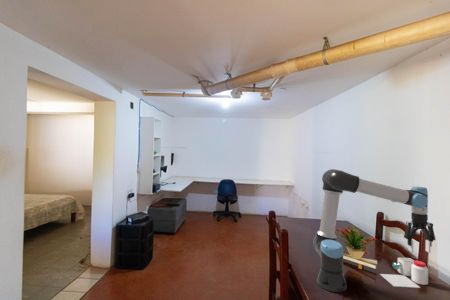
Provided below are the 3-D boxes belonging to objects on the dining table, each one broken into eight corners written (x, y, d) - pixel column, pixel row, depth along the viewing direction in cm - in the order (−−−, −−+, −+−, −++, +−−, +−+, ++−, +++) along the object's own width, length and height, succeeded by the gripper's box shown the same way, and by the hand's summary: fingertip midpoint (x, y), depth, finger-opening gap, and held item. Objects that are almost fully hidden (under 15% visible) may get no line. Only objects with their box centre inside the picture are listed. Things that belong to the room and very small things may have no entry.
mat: (394, 286, 136) (394, 286, 136) (380, 274, 149) (380, 273, 149) (420, 288, 134) (420, 287, 135) (403, 275, 148) (403, 275, 148)
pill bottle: (411, 276, 148) (411, 258, 148) (428, 281, 143) (427, 262, 143) (411, 281, 142) (411, 262, 142) (428, 286, 137) (428, 266, 137)
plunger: (396, 270, 150) (396, 264, 150) (392, 267, 154) (392, 261, 154) (413, 271, 149) (413, 264, 149) (409, 268, 153) (409, 262, 153)
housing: (403, 275, 148) (403, 261, 149) (397, 271, 154) (397, 257, 155) (417, 276, 148) (417, 262, 148) (410, 271, 154) (410, 257, 154)
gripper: (404, 213, 140) (404, 253, 140) (443, 215, 139) (444, 254, 138) (396, 210, 148) (396, 248, 147) (433, 212, 146) (433, 249, 146)
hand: (419, 251), depth 143 cm, fingers open, 9 cm apart
